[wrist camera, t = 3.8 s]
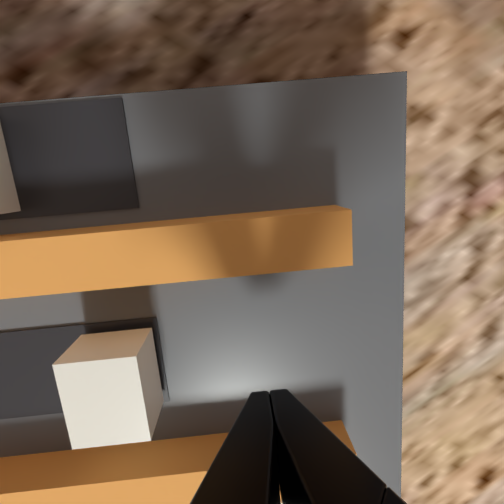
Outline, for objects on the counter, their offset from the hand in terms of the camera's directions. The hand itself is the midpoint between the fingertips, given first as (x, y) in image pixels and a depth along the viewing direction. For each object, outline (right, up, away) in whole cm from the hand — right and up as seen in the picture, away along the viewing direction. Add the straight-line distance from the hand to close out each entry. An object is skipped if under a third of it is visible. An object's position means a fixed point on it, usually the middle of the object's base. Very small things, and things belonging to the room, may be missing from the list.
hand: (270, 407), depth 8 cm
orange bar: (-6, +3, +2) cm, 7 cm away
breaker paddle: (-4, 0, +2) cm, 5 cm away
